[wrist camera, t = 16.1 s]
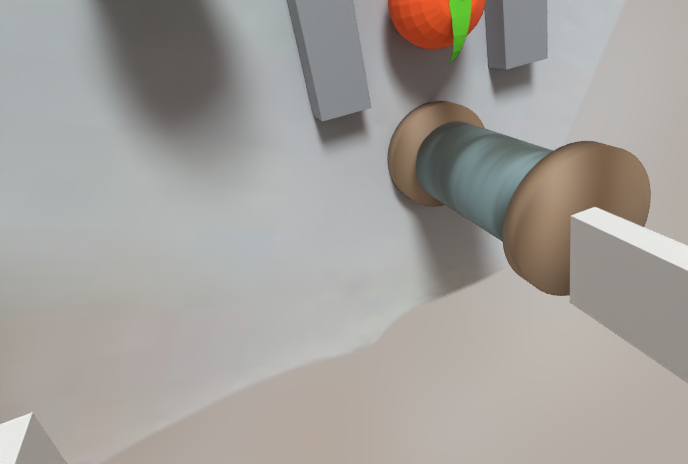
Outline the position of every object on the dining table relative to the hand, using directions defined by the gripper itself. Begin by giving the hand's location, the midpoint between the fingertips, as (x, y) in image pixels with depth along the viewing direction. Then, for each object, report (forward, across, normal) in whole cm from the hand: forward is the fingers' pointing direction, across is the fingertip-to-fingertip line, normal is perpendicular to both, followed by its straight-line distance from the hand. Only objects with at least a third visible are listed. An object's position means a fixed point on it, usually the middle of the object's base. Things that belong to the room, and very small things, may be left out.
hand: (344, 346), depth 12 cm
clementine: (+29, +17, +5) cm, 34 cm away
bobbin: (+29, +17, -7) cm, 34 cm away
